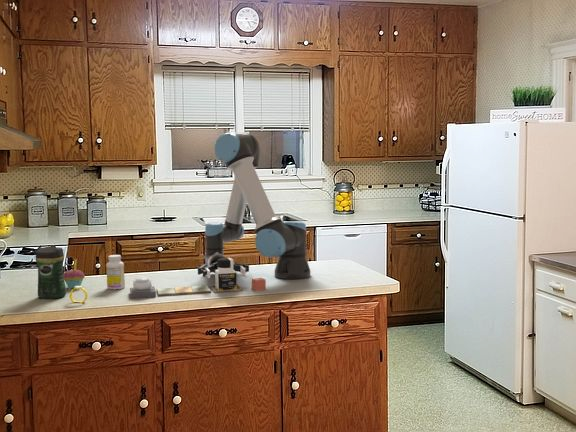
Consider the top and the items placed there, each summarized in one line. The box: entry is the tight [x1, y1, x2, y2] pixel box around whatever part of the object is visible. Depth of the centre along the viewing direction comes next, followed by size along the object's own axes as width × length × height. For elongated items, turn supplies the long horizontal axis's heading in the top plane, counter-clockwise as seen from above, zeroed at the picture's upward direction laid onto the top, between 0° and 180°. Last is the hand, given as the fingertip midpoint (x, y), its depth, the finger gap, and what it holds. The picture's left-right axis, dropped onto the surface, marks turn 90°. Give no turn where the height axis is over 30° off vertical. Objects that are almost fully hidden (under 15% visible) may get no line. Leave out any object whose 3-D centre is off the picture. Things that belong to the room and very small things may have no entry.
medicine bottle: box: [214, 257, 238, 291], centre depth 256 cm, size 7×7×12 cm
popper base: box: [129, 286, 157, 300], centre depth 247 cm, size 9×9×2 cm
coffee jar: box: [35, 246, 67, 300], centre depth 245 cm, size 10×8×19 cm
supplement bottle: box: [105, 254, 126, 291], centre depth 259 cm, size 7×7×13 cm
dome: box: [132, 277, 153, 290], centre depth 247 cm, size 7×7×3 cm
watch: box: [69, 285, 89, 304], centre depth 236 cm, size 6×3×6 cm, turn 88°
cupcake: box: [63, 259, 86, 289], centre depth 260 cm, size 9×8×12 cm
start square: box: [209, 283, 243, 294], centre depth 256 cm, size 11×11×1 cm
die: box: [251, 277, 267, 291], centre depth 255 cm, size 4×4×4 cm
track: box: [156, 285, 212, 297], centre depth 252 cm, size 20×10×1 cm, turn 105°
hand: (227, 273), depth 253 cm, fingers open, 13 cm apart
